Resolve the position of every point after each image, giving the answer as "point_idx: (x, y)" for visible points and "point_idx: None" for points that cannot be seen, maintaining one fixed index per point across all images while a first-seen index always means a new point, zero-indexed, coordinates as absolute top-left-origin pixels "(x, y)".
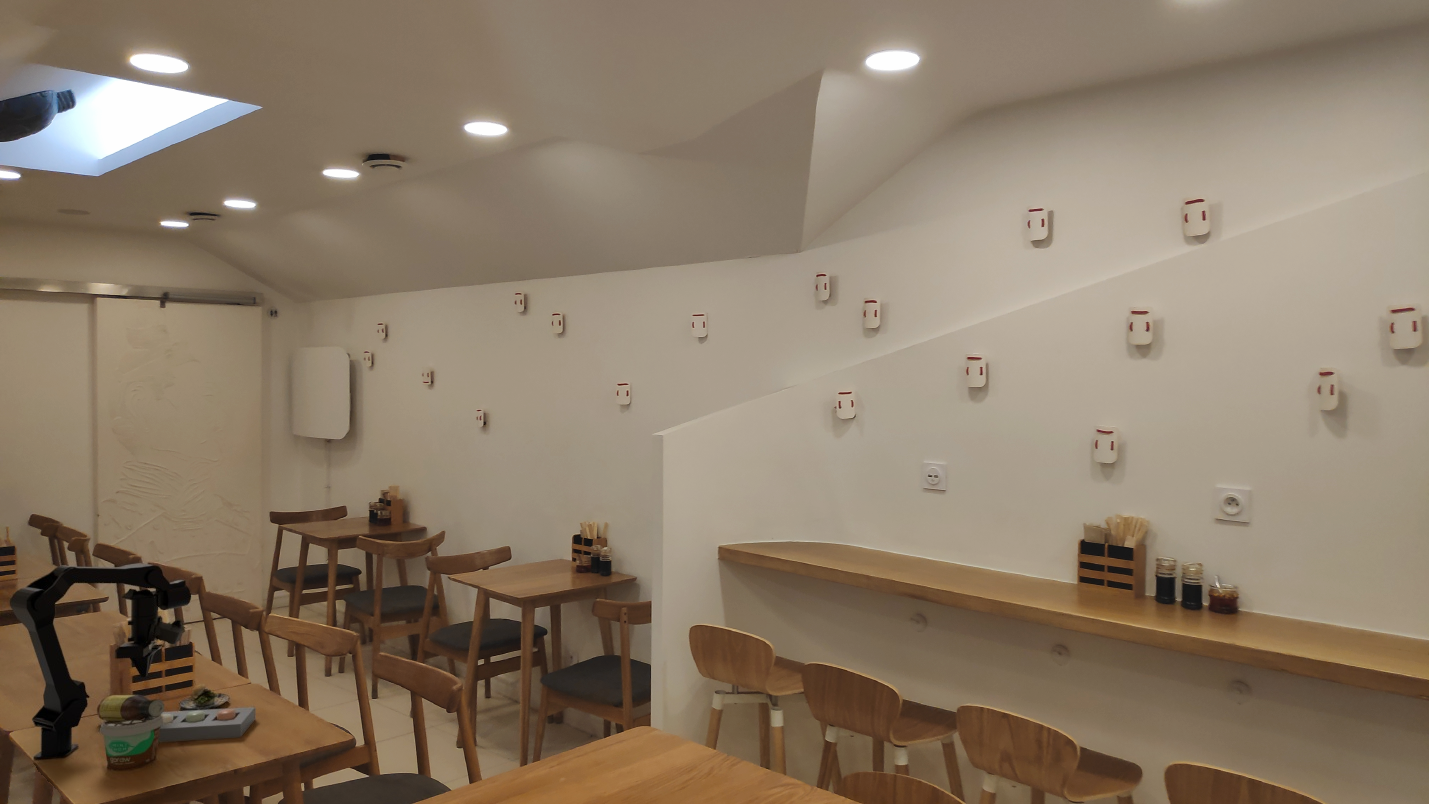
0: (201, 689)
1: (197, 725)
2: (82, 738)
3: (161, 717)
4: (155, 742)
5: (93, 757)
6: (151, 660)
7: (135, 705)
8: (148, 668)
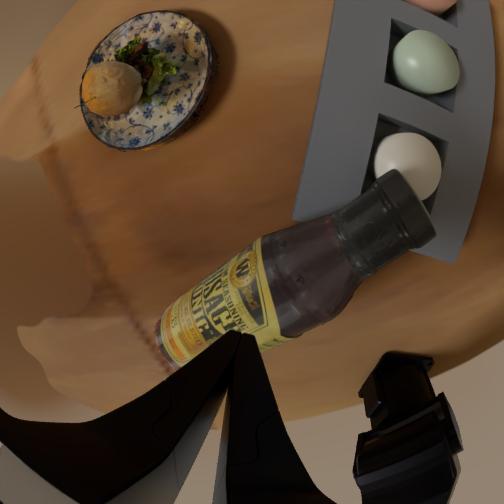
0: (125, 69)
1: (488, 71)
2: (324, 355)
3: (417, 175)
4: None
5: (468, 309)
6: (169, 394)
7: (352, 291)
8: (228, 363)
